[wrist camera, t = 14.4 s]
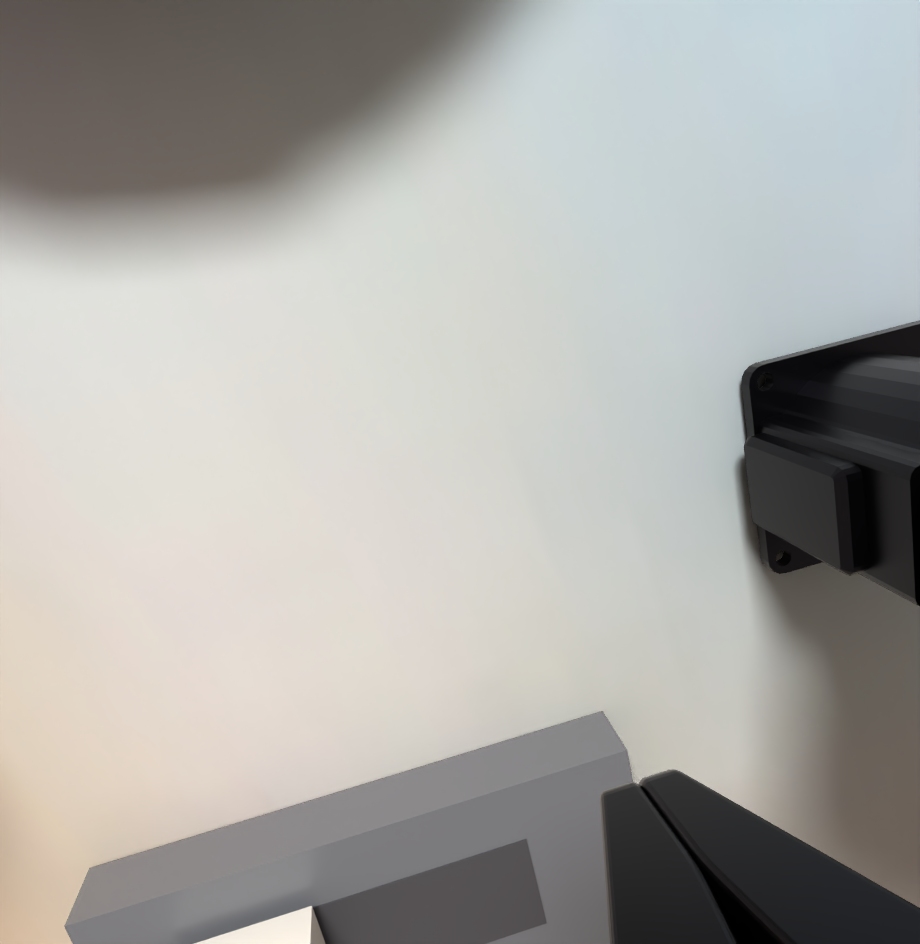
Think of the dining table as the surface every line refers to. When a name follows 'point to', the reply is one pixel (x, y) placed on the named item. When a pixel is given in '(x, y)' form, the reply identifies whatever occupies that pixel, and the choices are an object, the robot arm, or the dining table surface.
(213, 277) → the dining table surface
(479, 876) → the switch panel
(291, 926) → the tab
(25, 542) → the dining table surface
